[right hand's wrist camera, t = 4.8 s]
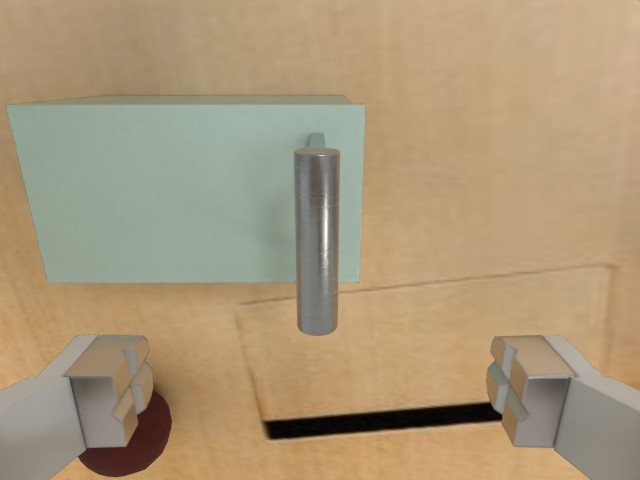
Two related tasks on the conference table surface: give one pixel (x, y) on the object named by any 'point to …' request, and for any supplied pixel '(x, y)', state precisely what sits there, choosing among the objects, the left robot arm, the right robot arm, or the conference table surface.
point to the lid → (198, 195)
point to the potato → (134, 443)
